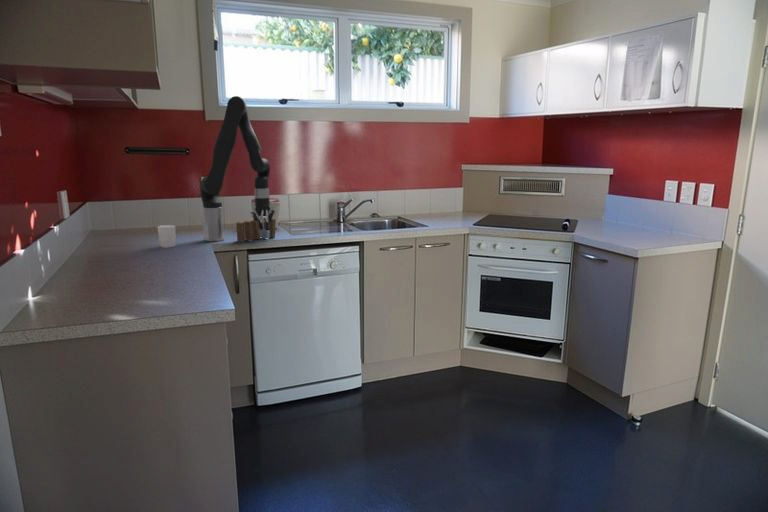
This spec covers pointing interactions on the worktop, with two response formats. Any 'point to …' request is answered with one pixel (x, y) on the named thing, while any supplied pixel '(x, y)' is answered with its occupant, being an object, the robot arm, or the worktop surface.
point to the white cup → (166, 236)
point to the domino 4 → (264, 233)
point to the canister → (273, 206)
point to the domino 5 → (271, 227)
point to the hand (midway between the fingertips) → (263, 229)
